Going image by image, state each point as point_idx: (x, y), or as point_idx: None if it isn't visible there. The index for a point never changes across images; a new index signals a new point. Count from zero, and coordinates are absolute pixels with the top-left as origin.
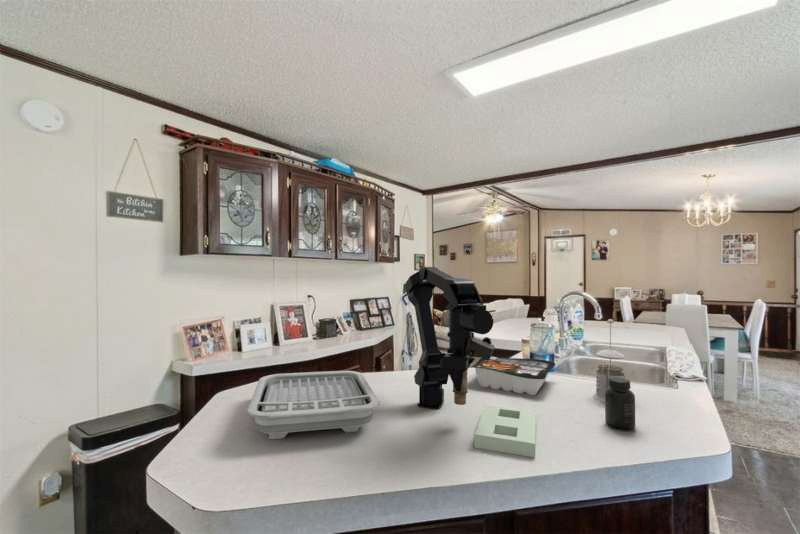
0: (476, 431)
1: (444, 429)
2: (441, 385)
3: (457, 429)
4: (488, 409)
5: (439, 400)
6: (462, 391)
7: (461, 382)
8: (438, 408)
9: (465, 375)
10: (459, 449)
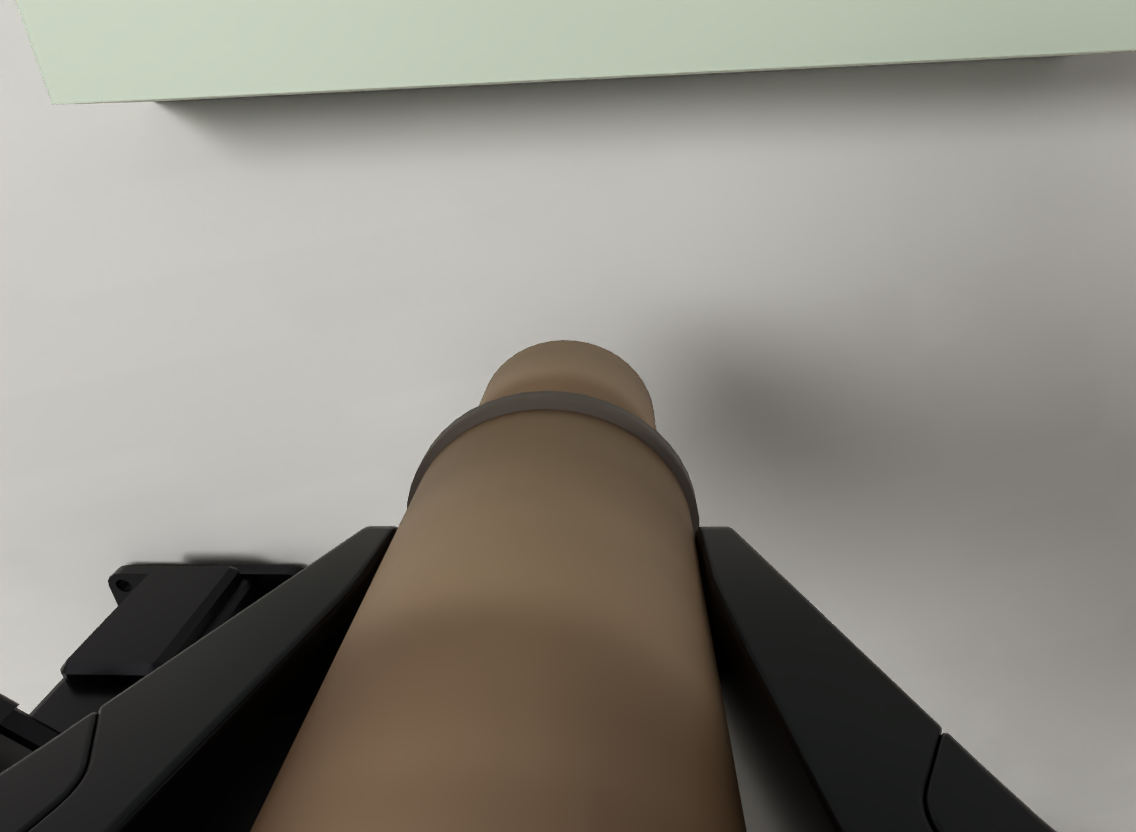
0: (1085, 37)
1: (705, 427)
2: (61, 722)
3: (663, 320)
4: (212, 26)
5: (224, 613)
6: (674, 488)
7: (879, 669)
8: (298, 570)
9: (627, 756)
10: (1127, 200)
